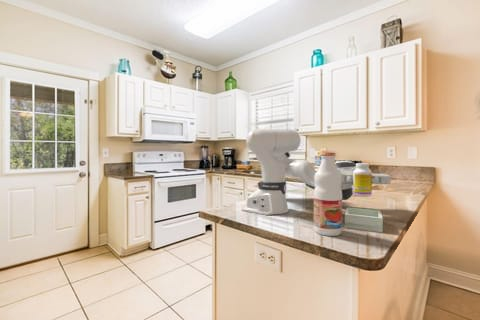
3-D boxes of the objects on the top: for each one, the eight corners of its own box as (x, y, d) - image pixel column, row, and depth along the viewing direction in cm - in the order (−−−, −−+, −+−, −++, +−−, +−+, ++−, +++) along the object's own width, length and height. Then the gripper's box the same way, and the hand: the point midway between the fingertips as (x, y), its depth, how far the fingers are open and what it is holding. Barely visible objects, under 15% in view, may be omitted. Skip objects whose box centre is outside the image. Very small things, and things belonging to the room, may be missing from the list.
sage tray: (344, 227, 87) (344, 214, 87) (346, 219, 98) (346, 207, 97) (382, 232, 81) (382, 218, 81) (379, 222, 92) (380, 210, 92)
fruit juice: (324, 225, 89) (324, 152, 88) (347, 232, 82) (348, 152, 80) (308, 230, 84) (308, 152, 83) (331, 238, 76) (332, 152, 75)
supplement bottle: (374, 197, 90) (374, 164, 89) (355, 197, 91) (355, 164, 90) (368, 194, 96) (368, 163, 96) (350, 193, 98) (351, 163, 97)
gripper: (389, 185, 100) (393, 190, 88) (337, 182, 110) (334, 186, 97) (389, 170, 100) (393, 173, 88) (337, 168, 109) (334, 171, 97)
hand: (362, 180), depth 93 cm, fingers closed on supplement bottle, 7 cm apart
